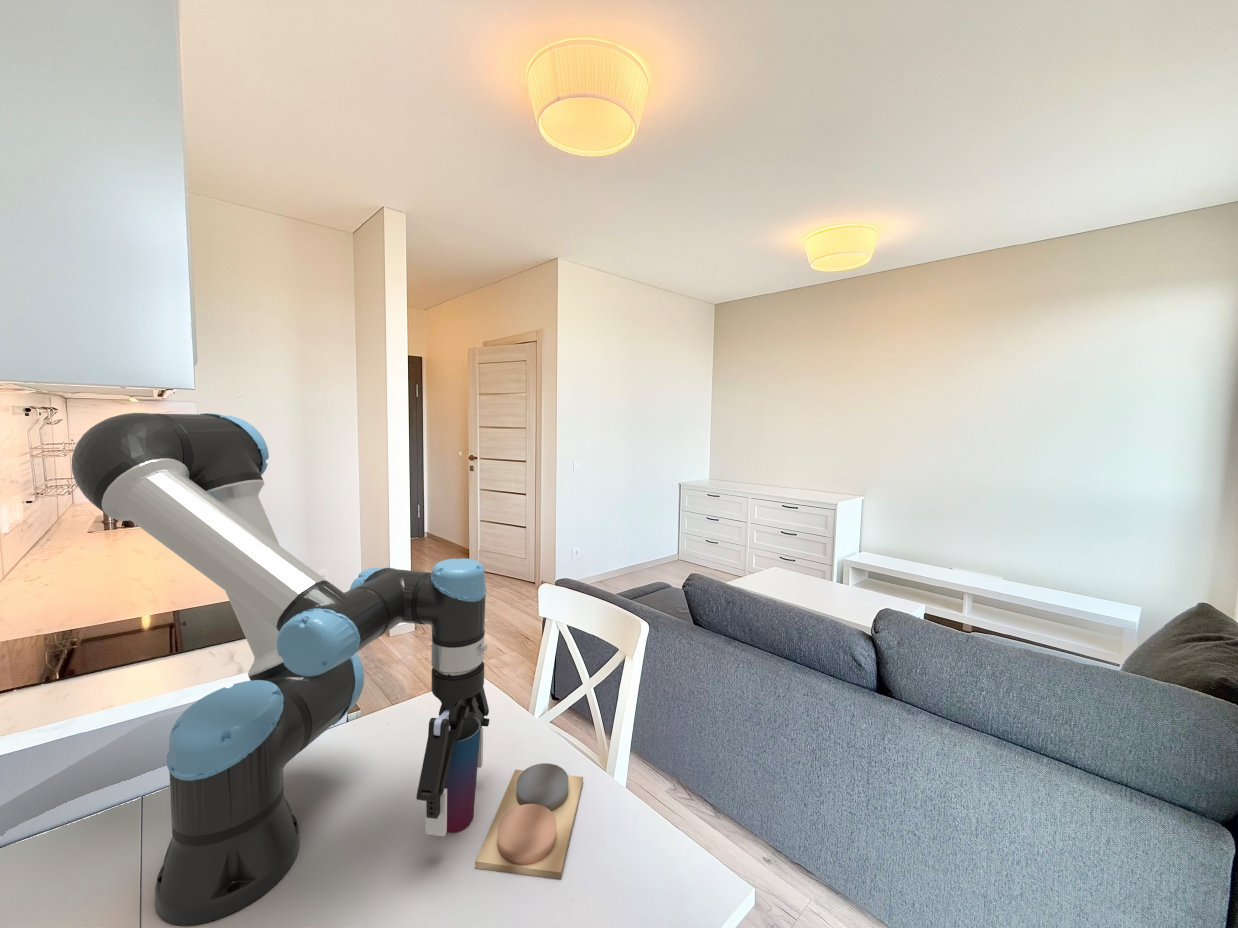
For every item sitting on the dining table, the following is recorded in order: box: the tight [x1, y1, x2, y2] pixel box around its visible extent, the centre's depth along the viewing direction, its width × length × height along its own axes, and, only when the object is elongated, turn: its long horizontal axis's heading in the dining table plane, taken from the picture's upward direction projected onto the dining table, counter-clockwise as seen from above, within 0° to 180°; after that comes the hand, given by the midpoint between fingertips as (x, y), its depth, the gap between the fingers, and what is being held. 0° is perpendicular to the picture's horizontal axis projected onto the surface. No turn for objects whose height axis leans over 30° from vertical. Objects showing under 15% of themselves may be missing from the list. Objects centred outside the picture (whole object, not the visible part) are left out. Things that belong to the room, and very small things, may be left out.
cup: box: [444, 715, 481, 834], centre depth 75 cm, size 7×7×15 cm
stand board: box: [474, 762, 584, 880], centre depth 76 cm, size 12×18×3 cm, turn 175°
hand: (456, 796), depth 75 cm, fingers open, 13 cm apart
